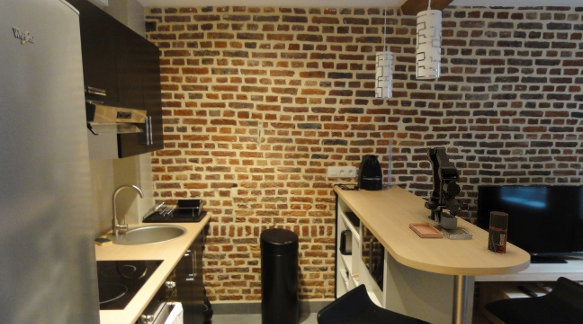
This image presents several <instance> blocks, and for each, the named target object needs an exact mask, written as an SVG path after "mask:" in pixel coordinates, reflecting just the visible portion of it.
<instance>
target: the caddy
mask: <svg viewBox="0 0 583 324" xmlns="http://www.w3.org/2000/svg"><path fill="white" fill-rule="evenodd" d="M440 216H441V220H440V223H439V222H438V220H437V217H436V215H435V220H434V222H435V223H436V224H437V225H440V226H441V227H442V229H444V230H445V229H446V230H447V229H448V230H449V229H450V230H451V229H452V230H454V229H455V230H457V229H458V218H457V216H455V217H454V216H452V215H451V214H450V212H449V213H448V212H447V211H443V212H441V213H440Z"/></svg>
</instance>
